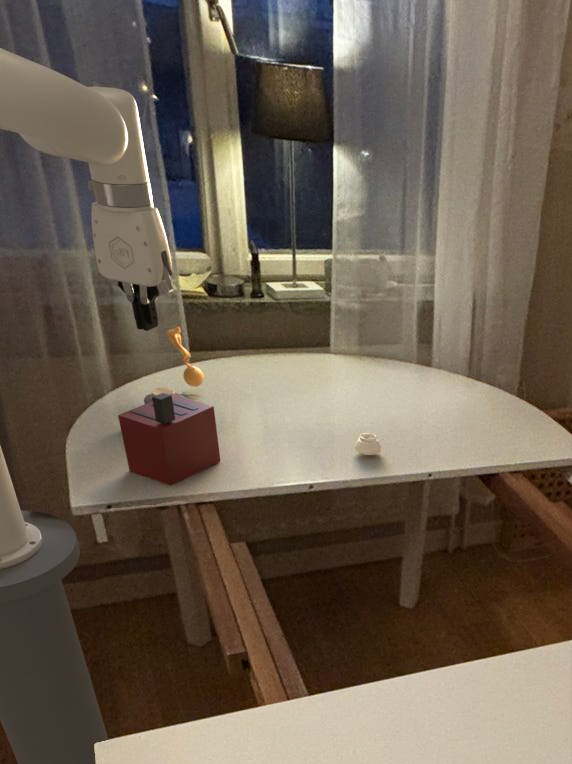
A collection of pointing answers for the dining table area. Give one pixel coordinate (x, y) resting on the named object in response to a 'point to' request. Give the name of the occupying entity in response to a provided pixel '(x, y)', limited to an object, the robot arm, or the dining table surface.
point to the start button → (162, 391)
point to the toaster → (170, 441)
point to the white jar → (368, 444)
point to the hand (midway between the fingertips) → (147, 327)
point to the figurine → (186, 360)
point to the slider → (163, 408)
